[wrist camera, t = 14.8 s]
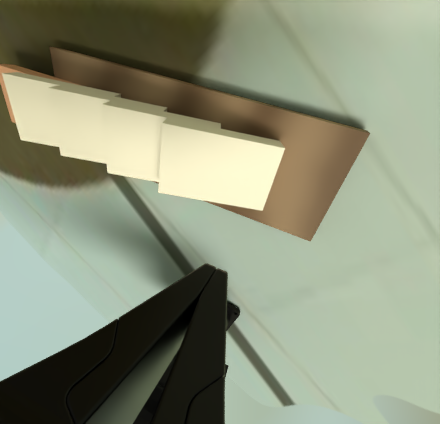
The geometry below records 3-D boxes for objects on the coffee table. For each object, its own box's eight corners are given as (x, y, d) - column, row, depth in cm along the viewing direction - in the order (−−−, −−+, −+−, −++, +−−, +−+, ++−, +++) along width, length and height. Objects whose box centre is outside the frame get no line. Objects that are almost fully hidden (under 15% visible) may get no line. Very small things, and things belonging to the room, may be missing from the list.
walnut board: (367, 130, 15) (370, 133, 14) (310, 234, 20) (310, 241, 19) (60, 48, 20) (49, 46, 19) (75, 146, 25) (67, 148, 24)
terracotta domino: (64, 85, 19) (-6, 63, 20) (74, 144, 21) (11, 121, 23) (81, 85, 20) (14, 64, 22) (88, 141, 23) (28, 119, 24)
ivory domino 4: (285, 148, 15) (162, 123, 14) (262, 210, 18) (158, 192, 17) (280, 140, 16) (167, 117, 15) (259, 200, 19) (163, 182, 18)
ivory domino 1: (113, 96, 18) (1, 73, 17) (116, 157, 20) (20, 139, 20) (120, 93, 19) (17, 72, 18) (123, 151, 22) (33, 134, 21)
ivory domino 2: (162, 111, 17) (47, 87, 16) (159, 173, 20) (61, 155, 19) (167, 107, 18) (61, 85, 17) (163, 165, 21) (71, 149, 20)
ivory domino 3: (220, 128, 16) (101, 104, 15) (208, 190, 19) (107, 173, 18) (220, 123, 17) (111, 100, 16) (209, 182, 20) (115, 164, 19)
